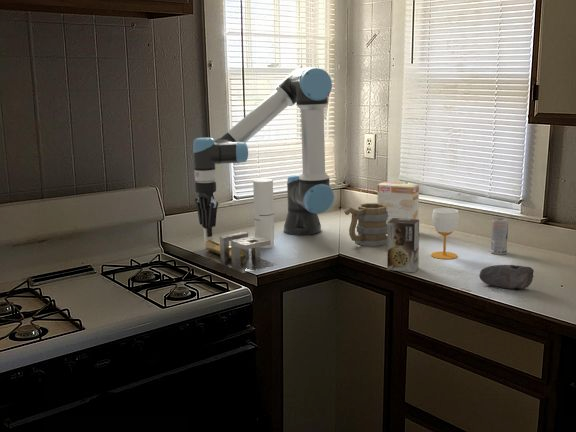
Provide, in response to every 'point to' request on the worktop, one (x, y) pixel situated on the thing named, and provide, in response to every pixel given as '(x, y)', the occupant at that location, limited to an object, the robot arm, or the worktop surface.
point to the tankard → (369, 224)
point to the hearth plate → (244, 264)
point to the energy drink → (499, 236)
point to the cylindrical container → (264, 210)
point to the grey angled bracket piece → (225, 245)
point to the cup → (445, 228)
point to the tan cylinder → (215, 248)
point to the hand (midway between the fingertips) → (208, 244)
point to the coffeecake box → (399, 200)
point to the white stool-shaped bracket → (247, 243)
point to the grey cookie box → (403, 245)
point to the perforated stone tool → (507, 276)
